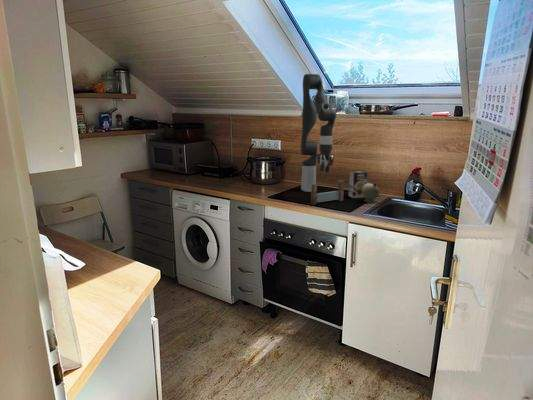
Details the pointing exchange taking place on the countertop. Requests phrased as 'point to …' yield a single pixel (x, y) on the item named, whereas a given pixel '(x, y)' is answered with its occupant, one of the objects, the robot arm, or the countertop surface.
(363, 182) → the coffee box
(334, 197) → the gate
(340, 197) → the gate frame
